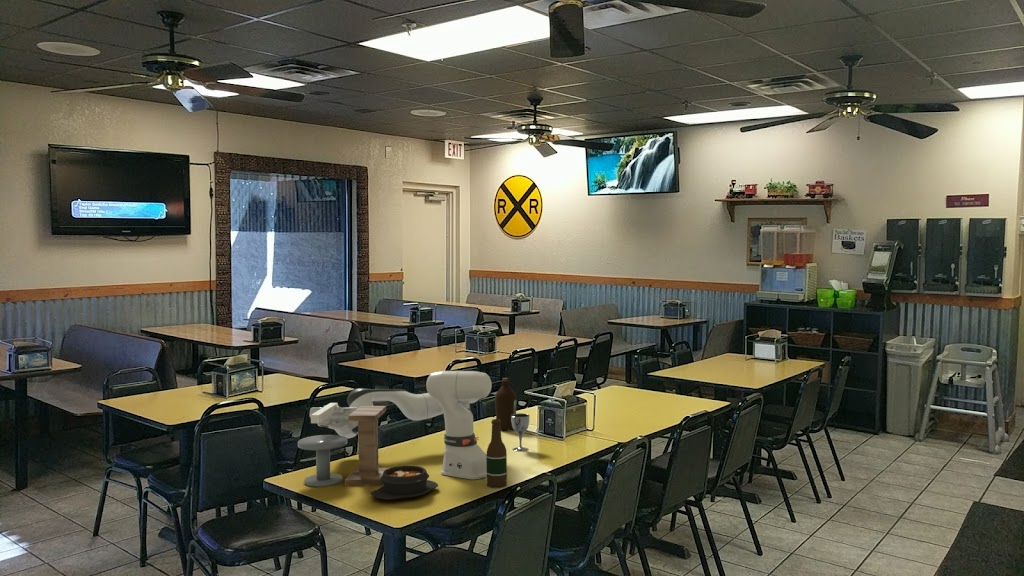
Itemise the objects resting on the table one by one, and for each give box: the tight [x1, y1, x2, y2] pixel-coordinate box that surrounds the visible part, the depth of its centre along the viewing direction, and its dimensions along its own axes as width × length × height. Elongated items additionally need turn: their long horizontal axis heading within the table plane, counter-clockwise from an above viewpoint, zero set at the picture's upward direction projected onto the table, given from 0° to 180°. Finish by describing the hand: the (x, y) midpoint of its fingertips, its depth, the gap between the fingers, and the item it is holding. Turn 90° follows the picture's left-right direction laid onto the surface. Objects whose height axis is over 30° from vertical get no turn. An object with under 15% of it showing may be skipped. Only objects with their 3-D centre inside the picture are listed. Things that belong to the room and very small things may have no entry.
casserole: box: [370, 465, 439, 501], centre depth 260 cm, size 25×19×8 cm
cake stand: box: [297, 434, 348, 488], centre depth 277 cm, size 18×18×16 cm
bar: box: [310, 402, 339, 424], centre depth 282 cm, size 24×3×3 cm, turn 177°
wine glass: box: [511, 412, 530, 453], centre depth 321 cm, size 8×8×15 cm
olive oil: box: [494, 377, 518, 431], centre depth 361 cm, size 11×11×25 cm
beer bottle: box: [486, 418, 508, 489], centre depth 270 cm, size 8×8×24 cm
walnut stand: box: [344, 405, 390, 486], centre depth 279 cm, size 18×14×26 cm
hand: (330, 407), depth 290 cm, fingers closed on bar, 3 cm apart
